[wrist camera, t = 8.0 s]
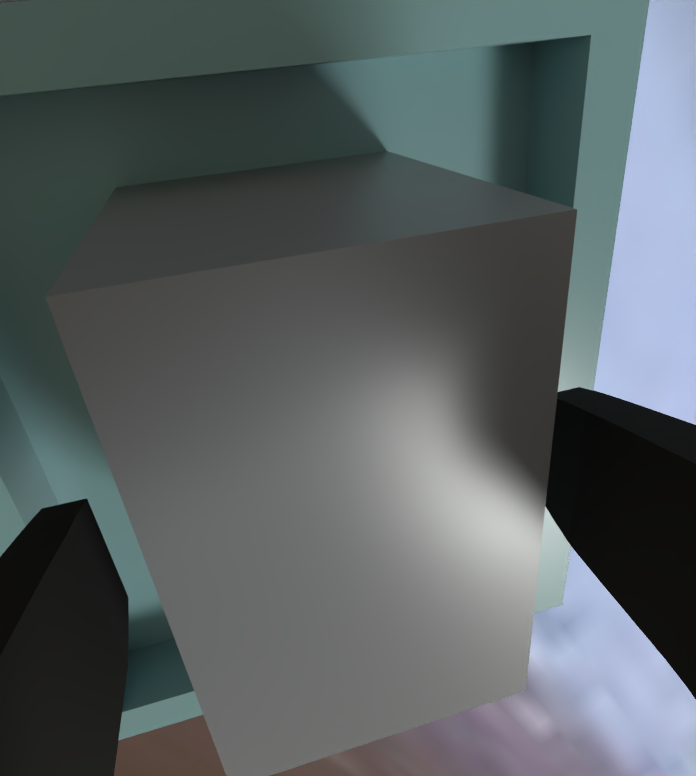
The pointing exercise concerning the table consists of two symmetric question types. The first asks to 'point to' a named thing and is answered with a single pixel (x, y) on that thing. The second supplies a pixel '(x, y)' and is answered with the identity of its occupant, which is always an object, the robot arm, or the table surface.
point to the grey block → (328, 434)
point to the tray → (267, 149)
